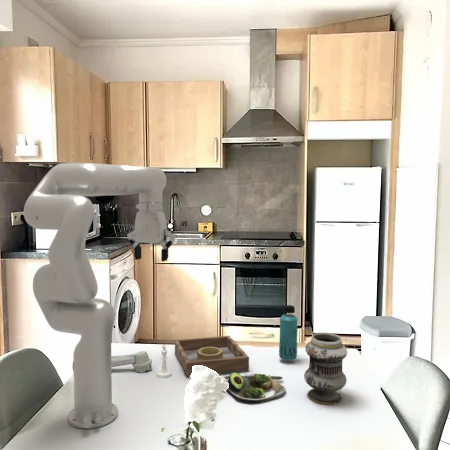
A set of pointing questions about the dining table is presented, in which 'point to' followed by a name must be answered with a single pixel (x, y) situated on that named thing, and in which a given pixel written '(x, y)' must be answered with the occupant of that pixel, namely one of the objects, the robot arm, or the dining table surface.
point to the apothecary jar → (325, 368)
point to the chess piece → (164, 365)
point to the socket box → (211, 355)
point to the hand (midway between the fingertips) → (151, 260)
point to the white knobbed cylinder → (132, 361)
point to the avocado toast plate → (253, 387)
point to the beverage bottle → (288, 334)
